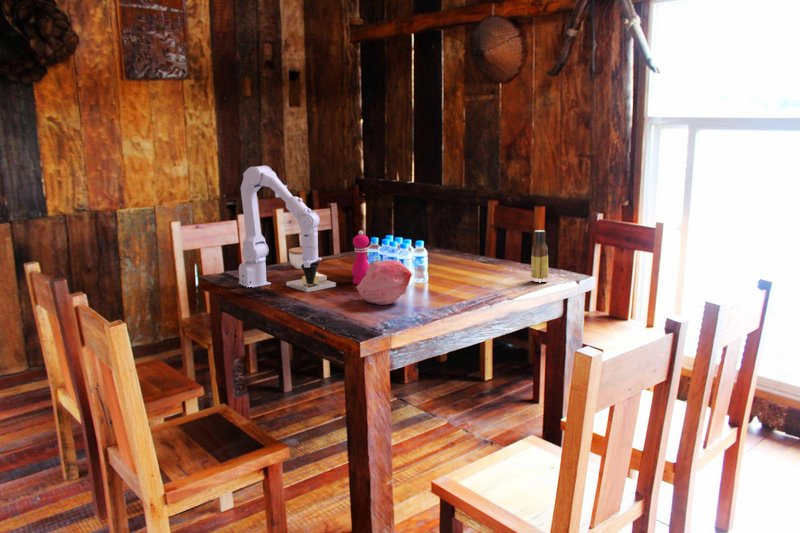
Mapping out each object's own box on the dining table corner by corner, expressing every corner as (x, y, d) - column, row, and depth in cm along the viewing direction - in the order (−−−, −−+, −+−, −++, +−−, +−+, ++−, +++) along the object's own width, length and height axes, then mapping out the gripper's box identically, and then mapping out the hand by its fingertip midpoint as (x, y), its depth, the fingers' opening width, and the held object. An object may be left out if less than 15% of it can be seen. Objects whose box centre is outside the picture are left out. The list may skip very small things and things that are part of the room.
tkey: (301, 289, 248) (301, 277, 247) (303, 287, 252) (303, 274, 251) (318, 290, 248) (318, 277, 247) (320, 287, 251) (319, 275, 250)
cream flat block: (311, 282, 252) (311, 276, 252) (303, 280, 256) (303, 274, 256) (326, 279, 257) (326, 273, 257) (318, 277, 261) (318, 271, 260)
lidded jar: (292, 271, 280) (291, 248, 278) (286, 266, 289) (285, 244, 287) (317, 269, 283) (317, 246, 282) (311, 264, 293) (310, 242, 291)
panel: (306, 292, 245) (306, 288, 244) (286, 285, 254) (286, 281, 254) (335, 286, 253) (335, 282, 253) (315, 280, 263) (315, 276, 262)
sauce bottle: (546, 280, 265) (549, 229, 261) (548, 284, 259) (551, 232, 254) (529, 279, 265) (531, 229, 261) (531, 283, 259) (533, 231, 255)
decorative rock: (419, 282, 236) (395, 246, 235) (420, 288, 222) (394, 249, 221) (374, 312, 238) (349, 276, 236) (372, 319, 223) (346, 281, 222)
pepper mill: (368, 285, 255) (367, 232, 251) (349, 284, 257) (348, 231, 253) (372, 281, 262) (372, 229, 258) (354, 280, 264) (354, 228, 260)
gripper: (317, 249, 239) (318, 287, 242) (324, 242, 253) (324, 278, 256) (297, 249, 239) (298, 287, 242) (305, 242, 254) (305, 278, 256)
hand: (310, 282), depth 249 cm, fingers closed on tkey, 2 cm apart
